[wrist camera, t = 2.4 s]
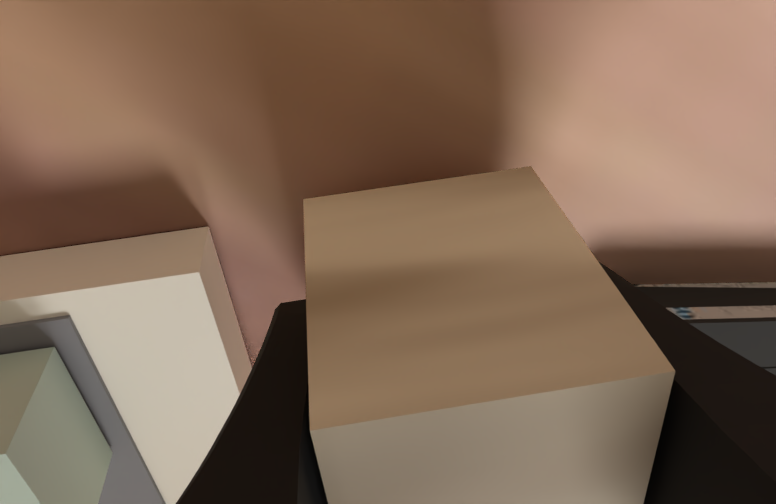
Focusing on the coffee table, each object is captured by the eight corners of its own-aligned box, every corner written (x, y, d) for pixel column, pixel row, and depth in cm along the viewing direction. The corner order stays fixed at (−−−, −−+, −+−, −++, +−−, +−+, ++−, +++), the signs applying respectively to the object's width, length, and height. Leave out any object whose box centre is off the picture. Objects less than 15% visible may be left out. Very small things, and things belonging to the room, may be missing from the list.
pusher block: (523, 335, 13) (628, 565, 9) (335, 365, 13) (355, 614, 9) (531, 166, 11) (675, 371, 7) (302, 199, 11) (310, 430, 7)
